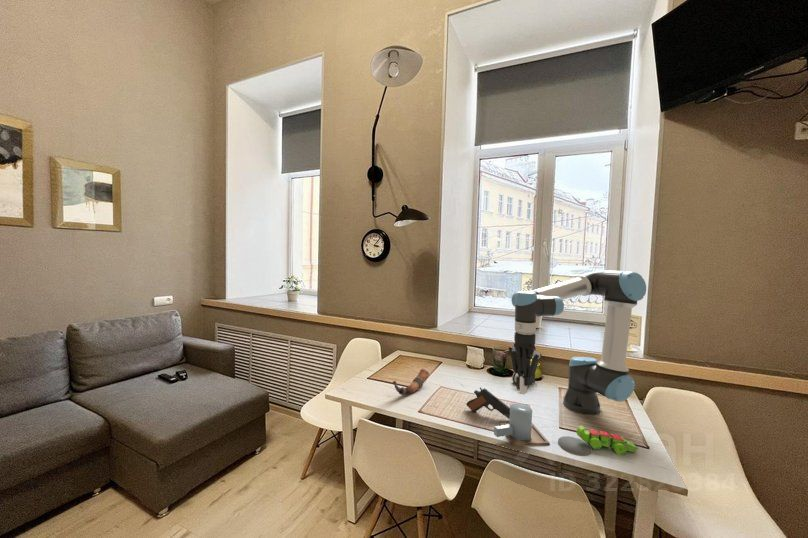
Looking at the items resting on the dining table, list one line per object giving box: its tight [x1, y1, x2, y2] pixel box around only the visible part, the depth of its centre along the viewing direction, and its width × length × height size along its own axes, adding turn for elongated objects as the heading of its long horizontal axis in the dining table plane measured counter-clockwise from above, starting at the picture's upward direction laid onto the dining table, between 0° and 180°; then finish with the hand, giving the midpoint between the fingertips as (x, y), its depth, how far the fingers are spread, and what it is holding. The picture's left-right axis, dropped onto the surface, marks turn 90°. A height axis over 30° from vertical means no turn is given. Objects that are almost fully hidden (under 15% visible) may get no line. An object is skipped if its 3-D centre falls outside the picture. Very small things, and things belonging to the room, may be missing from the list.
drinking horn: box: [392, 368, 430, 396], centre depth 159 cm, size 5×29×10 cm, turn 144°
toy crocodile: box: [576, 425, 639, 456], centre depth 117 cm, size 20×7×6 cm, turn 76°
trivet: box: [557, 435, 593, 456], centre depth 117 cm, size 11×11×1 cm
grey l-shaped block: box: [493, 403, 533, 441], centre depth 121 cm, size 15×8×11 cm, turn 108°
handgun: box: [465, 387, 510, 420], centre depth 138 cm, size 2×19×12 cm, turn 62°
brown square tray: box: [498, 422, 550, 447], centre depth 124 cm, size 14×14×1 cm
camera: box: [511, 372, 536, 389], centre depth 174 cm, size 16×9×10 cm, turn 132°
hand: (523, 392), depth 122 cm, fingers closed
